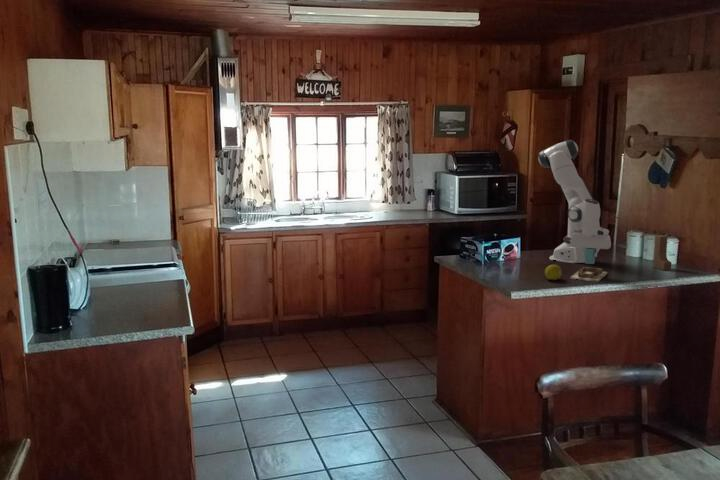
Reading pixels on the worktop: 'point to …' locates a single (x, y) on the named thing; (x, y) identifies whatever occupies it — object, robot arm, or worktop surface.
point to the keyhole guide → (589, 274)
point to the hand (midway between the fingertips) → (590, 256)
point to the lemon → (553, 272)
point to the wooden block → (661, 253)
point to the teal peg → (589, 255)
